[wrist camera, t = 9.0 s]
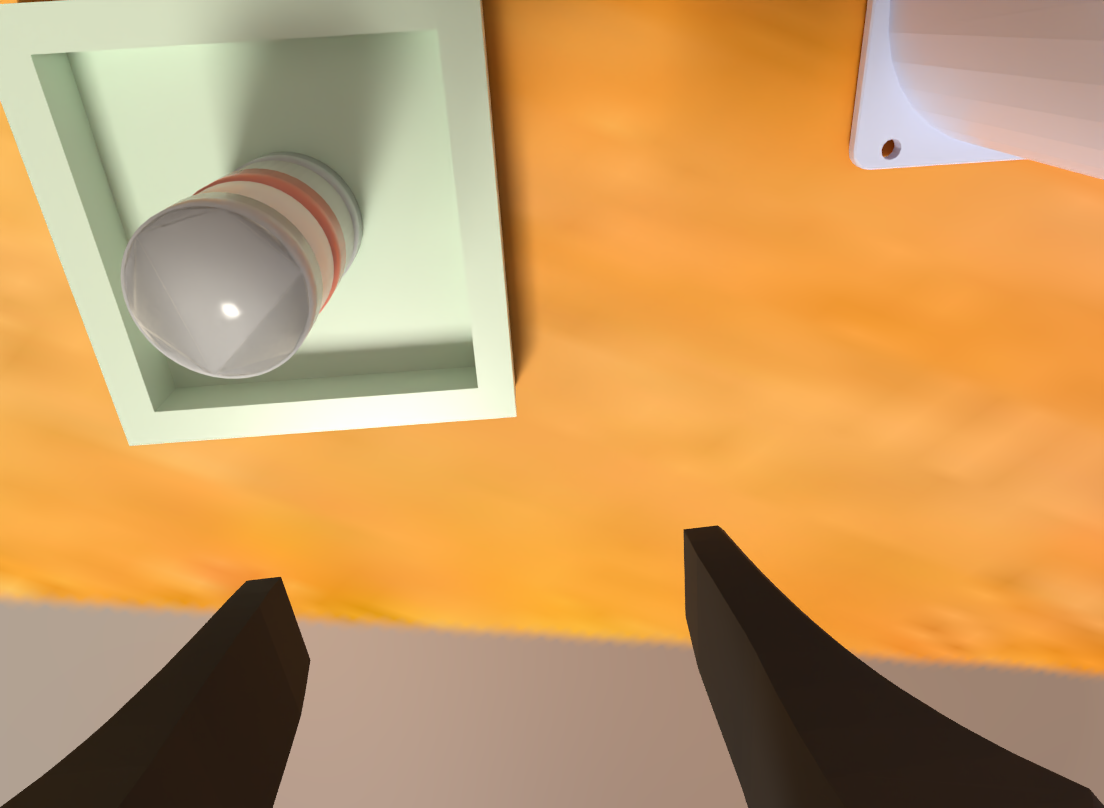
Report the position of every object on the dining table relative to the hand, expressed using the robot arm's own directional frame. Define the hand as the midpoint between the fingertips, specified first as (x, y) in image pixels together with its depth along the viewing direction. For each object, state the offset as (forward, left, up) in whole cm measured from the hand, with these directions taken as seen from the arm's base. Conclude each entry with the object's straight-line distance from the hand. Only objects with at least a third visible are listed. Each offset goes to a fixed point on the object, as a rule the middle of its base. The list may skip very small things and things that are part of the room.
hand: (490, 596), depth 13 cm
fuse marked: (+5, -5, -10) cm, 12 cm away
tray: (+5, -5, -10) cm, 12 cm away
